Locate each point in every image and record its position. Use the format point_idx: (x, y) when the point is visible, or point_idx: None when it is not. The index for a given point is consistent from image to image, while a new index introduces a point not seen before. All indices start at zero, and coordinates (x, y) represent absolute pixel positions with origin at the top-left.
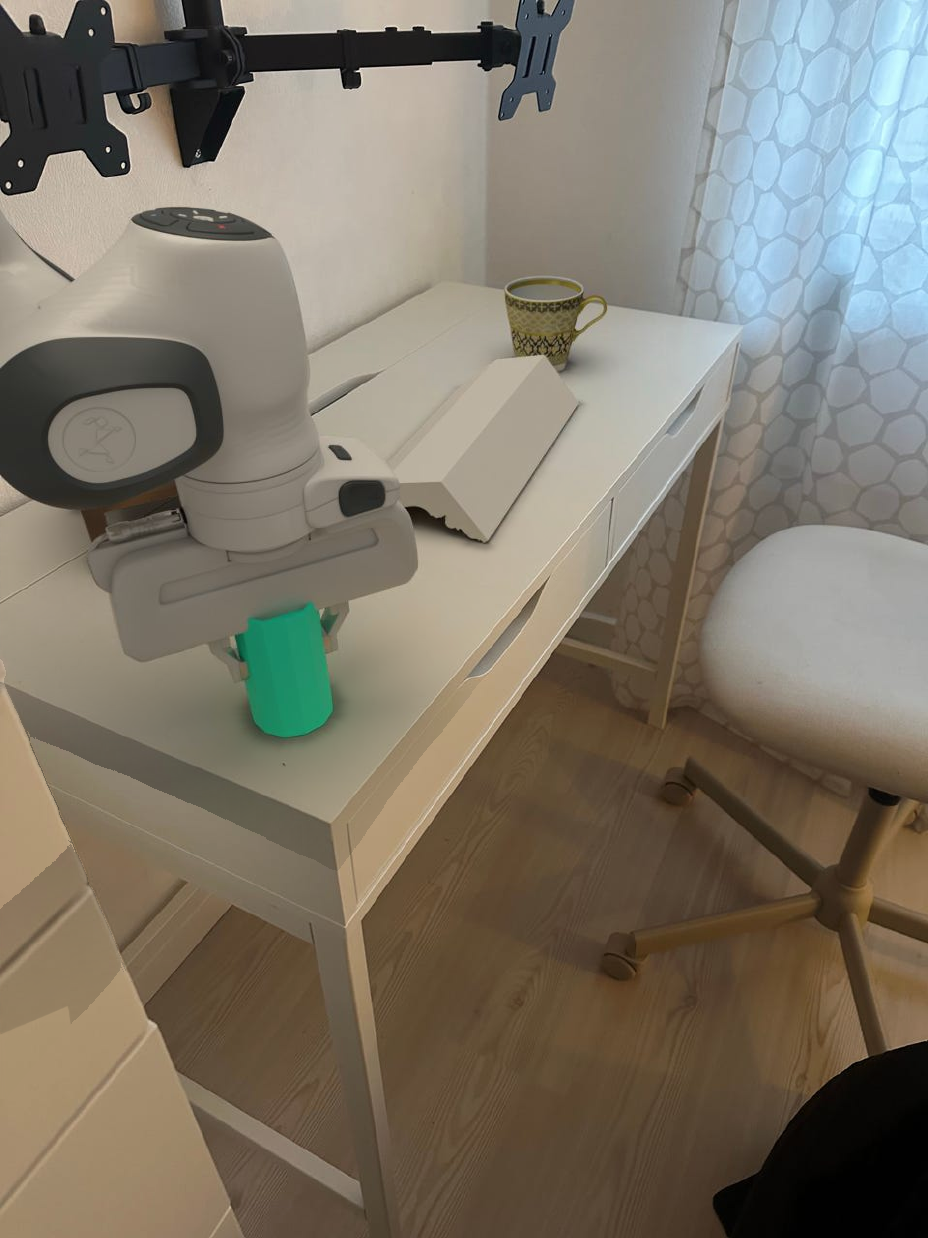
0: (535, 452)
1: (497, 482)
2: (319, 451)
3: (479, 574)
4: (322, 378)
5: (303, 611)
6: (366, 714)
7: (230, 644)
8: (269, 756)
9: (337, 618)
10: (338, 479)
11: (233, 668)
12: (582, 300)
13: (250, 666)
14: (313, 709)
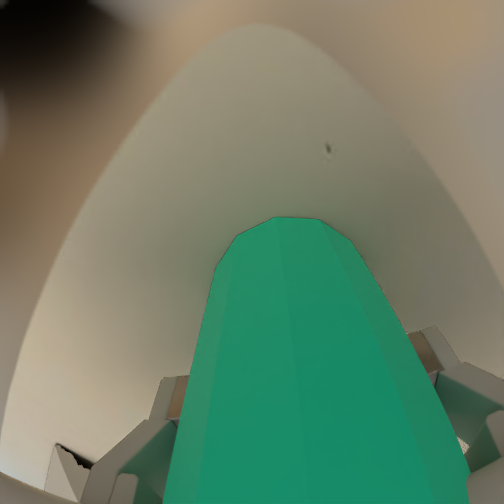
0: (49, 483)
1: (58, 482)
2: None
3: (51, 419)
4: None
5: None
6: (155, 242)
7: (487, 424)
8: (352, 178)
9: (127, 459)
10: None
11: (452, 357)
12: None
13: (418, 359)
14: (251, 249)
